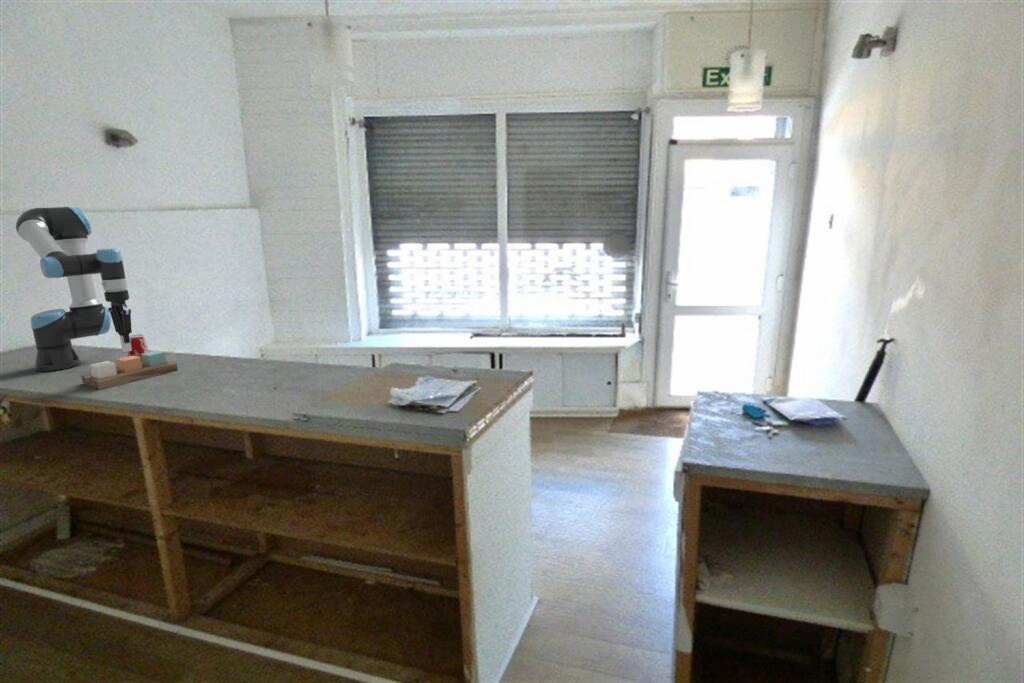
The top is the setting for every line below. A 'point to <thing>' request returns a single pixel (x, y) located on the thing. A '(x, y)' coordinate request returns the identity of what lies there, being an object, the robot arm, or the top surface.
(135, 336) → the soda can
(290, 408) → the top surface
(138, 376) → the board
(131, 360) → the orange cube
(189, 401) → the top surface
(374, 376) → the top surface
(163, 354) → the teal cube
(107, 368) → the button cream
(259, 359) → the top surface
